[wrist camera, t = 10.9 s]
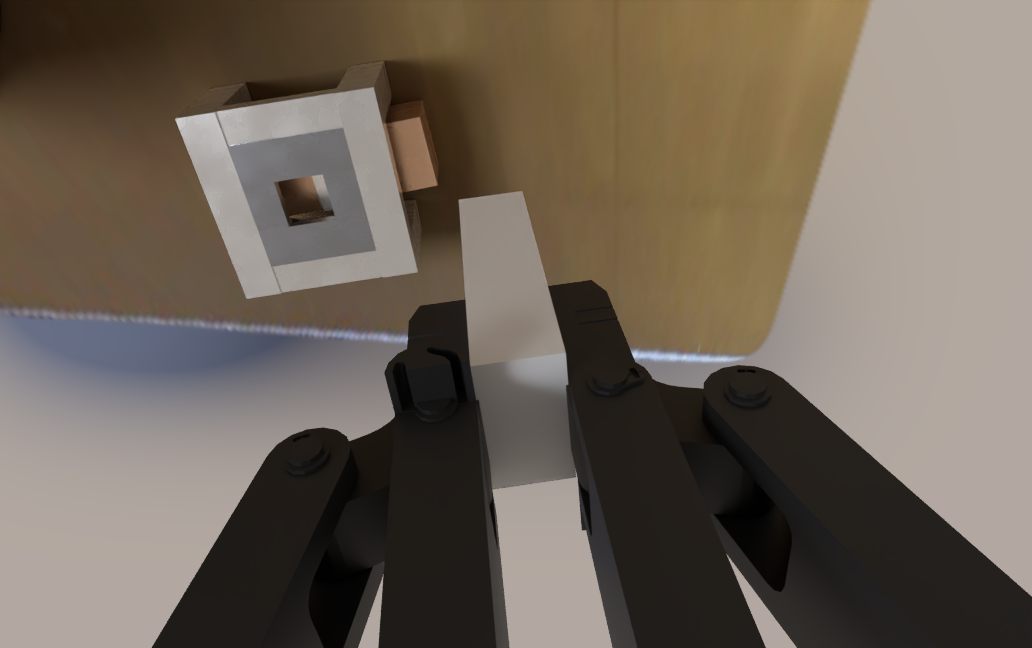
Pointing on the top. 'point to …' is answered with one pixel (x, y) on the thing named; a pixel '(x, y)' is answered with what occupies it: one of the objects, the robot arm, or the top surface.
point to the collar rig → (296, 154)
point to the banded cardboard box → (409, 154)
